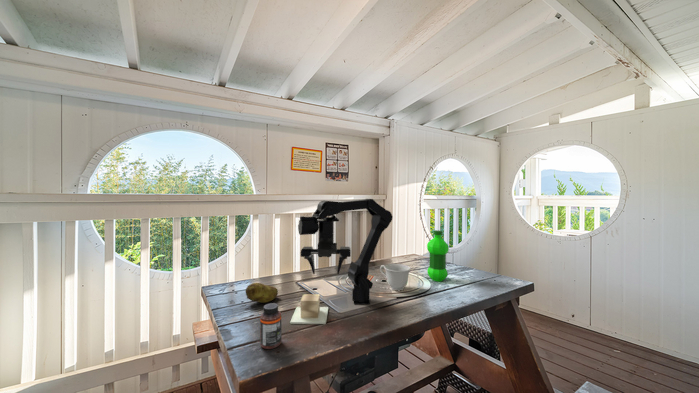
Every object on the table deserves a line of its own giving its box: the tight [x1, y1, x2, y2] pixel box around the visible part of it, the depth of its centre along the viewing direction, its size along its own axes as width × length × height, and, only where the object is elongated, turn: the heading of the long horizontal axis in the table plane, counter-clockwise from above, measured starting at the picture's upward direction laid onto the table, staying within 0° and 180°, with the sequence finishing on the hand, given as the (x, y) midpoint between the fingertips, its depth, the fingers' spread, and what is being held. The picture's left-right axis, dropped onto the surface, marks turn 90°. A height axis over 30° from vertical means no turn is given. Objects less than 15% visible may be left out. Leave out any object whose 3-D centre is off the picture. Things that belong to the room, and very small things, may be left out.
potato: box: [245, 282, 279, 304], centre depth 108 cm, size 8×13×8 cm, turn 116°
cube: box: [300, 293, 321, 318], centre depth 96 cm, size 6×6×6 cm
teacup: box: [379, 263, 412, 292], centre depth 124 cm, size 12×15×10 cm
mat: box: [289, 306, 329, 325], centre depth 96 cm, size 12×12×1 cm
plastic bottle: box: [426, 229, 450, 283], centre depth 137 cm, size 10×10×25 cm
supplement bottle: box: [259, 302, 282, 350], centre depth 78 cm, size 6×6×11 cm
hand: (326, 273), depth 103 cm, fingers open, 9 cm apart
